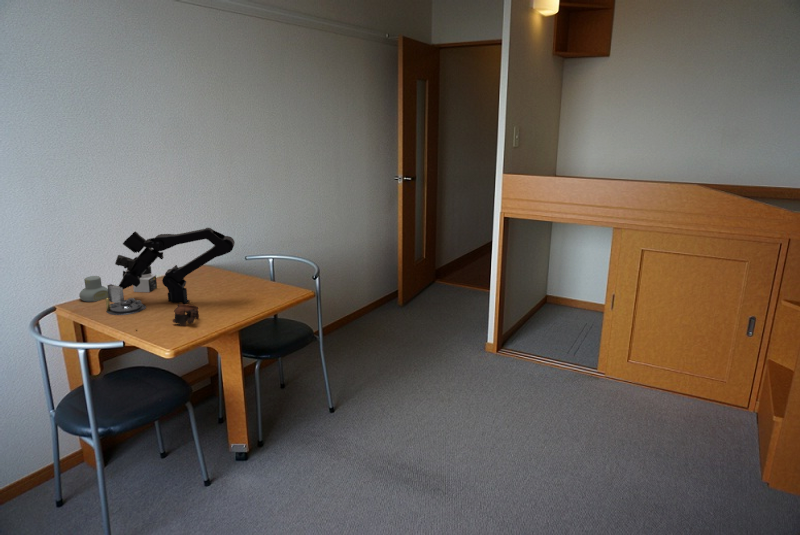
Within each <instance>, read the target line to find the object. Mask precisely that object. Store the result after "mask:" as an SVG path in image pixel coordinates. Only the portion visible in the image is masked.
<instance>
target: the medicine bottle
mask: <svg viewBox="0 0 800 535" xmlns="http://www.w3.org/2000/svg"><path fill="white" fill-rule="evenodd" d="M151 266H152V265H150V266H149V269H148V270H146V271H145V272H144V273H143V274H142V277H141V278H140V284H139V285H138V286H137V287H136V286H134V285H132V287H133V292H134V293H152V292H153V291H155V290H156V289H158V282H157V275H156V274H152V267H151Z"/></svg>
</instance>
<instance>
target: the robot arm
mask: <svg viewBox="0 0 800 535" xmlns="http://www.w3.org/2000/svg"><path fill="white" fill-rule="evenodd" d="M201 240H207V241H209V242H210V243H211V244H213V246H212V247H211V248H209V249H208V250H206V251H205V252H203V253H202V254H200V255H199V256H196V257H195V258H194V259H191V260H190V261H189V262H187V263H186V264H183V265H182V266H179V267H178V265H177V264H175V265H173V267H172V268H169V269H167V271H166V272H165V273H164V276H163V277H162V280H161V282H162V284H163V286H165V287H166V289H167V290H168V291H167V300H168V302H169V303H172V304H188V303H189V302H190V299H188V291H187V287H186V284H187V280H186V279H185V278H186V277H187V276H188V275H190V274H191V273H193V272H194V271H196V270H197V269H199V268H201V267H202V266H204V265H206V264H207V263H209V262H210V261H212V260H213V259H215V258H218V257H221V256H224V255H226V254H229V253H231V252H232V251H233V249H234V247H235V244H236V242H235V240H234V238H233V237H231V236H228V235H225V234H223V233H221V232H218V231H216V230H214V229H213V228H212V227H205V228H202V229H197V230H191V231H186V232H181V233H177V234H175V233H173V234H172V233H161V234H157V235H156V236H155V237H152V238H147V239H145V238H144V237H143V236H141V235H140V234H139V233H138V232H137V231H133V233H131V235H129V236H128V237H127V238H126V239H124V241H123V242H122V245H123V246H124V247H126V248H127V249H129V250H130V251H131V252H133V253H134V254H135V253H139V255H138V256H135V257H134V258H131V257H127V256H125V255H121V254H117V257H116V259H115V262H114V264H115V266H118V267H119V266H121V267H123V268H124V269H126V270H123V271H122V279H121V280H120V281H119V284H118V286H120V287H123V290H125V289H127V288H129V287H133V285H134V286H136V287H137V286H138V285H139V284H140V278H141V277H142V274H143V273H144V272H145V271H146V270H148V269H149V266H152V264H153V263H154V262H155V261H156V260H157V259H158V258H159V259H160V260H163V259H164V251H165V250H168V249H170V248H173V247H174V246H178V245H181V244H182V245H183V244H187V243H193V242H197V241H201Z"/></svg>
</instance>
